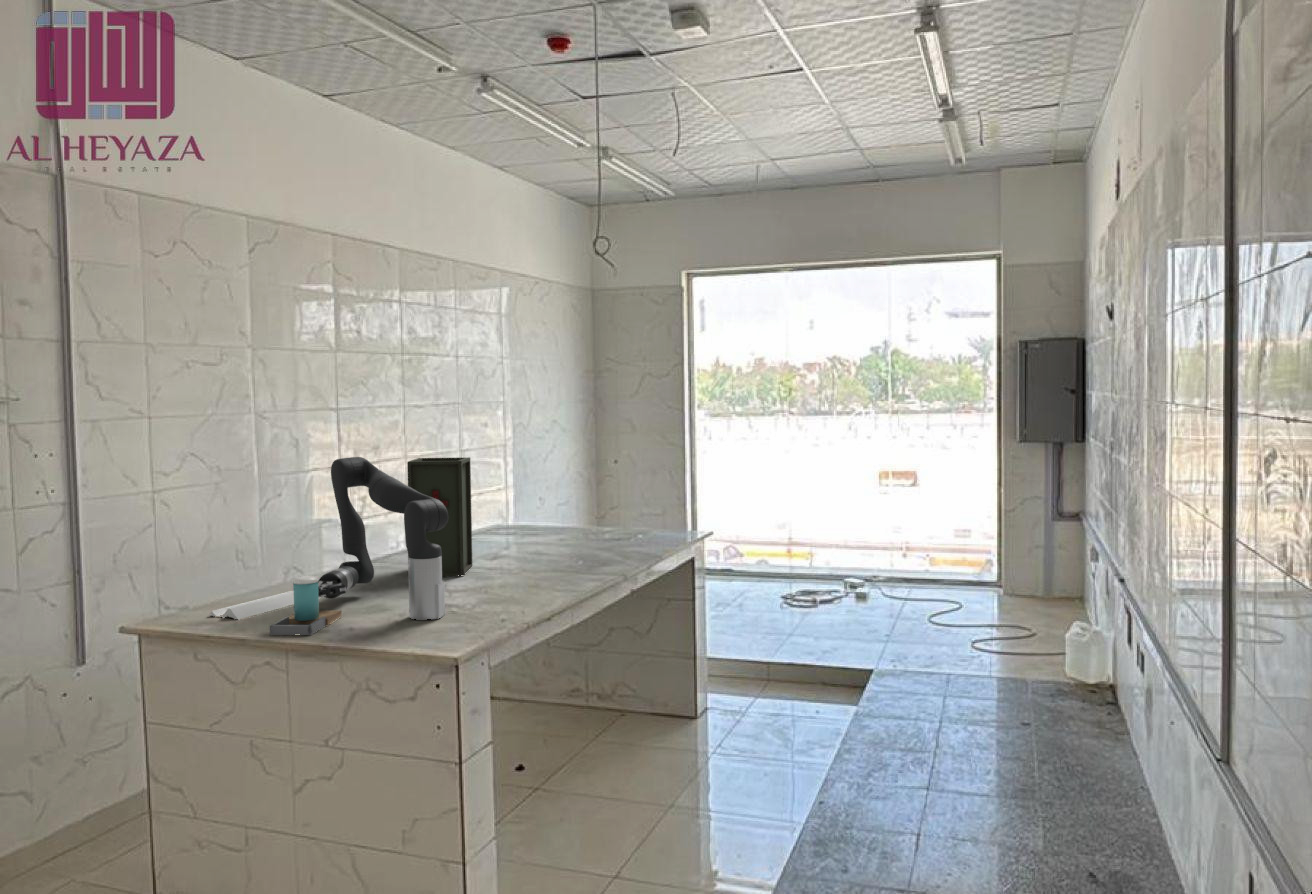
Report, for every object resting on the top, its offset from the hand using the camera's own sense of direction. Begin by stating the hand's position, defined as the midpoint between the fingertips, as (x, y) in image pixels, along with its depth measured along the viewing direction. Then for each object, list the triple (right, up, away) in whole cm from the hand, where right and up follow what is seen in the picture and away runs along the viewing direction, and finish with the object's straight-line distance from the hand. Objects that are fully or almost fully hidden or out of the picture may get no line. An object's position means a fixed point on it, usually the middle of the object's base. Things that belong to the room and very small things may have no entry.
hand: (311, 595), depth 263 cm
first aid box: (+19, -3, +74) cm, 77 cm away
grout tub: (0, -6, -3) cm, 6 cm away
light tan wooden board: (0, -8, +1) cm, 8 cm away
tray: (0, -8, -9) cm, 12 cm away
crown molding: (-21, -7, +20) cm, 30 cm away
